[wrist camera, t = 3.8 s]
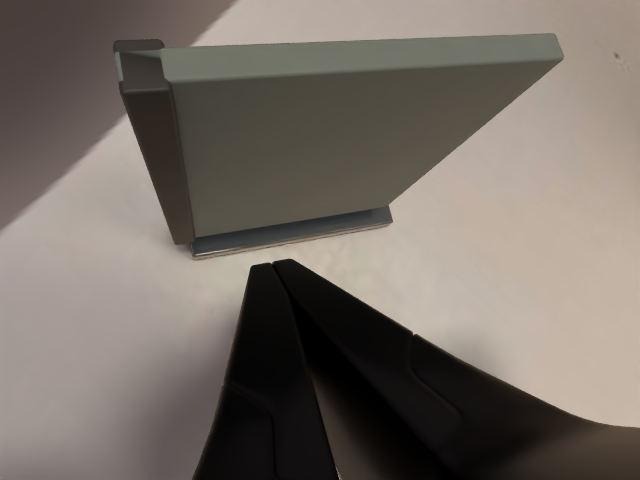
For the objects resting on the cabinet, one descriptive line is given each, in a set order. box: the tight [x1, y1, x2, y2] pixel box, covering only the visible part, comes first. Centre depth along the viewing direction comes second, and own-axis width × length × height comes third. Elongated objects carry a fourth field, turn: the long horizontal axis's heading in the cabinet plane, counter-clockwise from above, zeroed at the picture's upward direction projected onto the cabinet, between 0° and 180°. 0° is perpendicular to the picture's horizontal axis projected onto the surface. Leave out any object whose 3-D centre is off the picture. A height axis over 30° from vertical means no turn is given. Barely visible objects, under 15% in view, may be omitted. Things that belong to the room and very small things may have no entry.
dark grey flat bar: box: [191, 205, 393, 260], centre depth 17 cm, size 2×8×1 cm, turn 104°
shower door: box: [113, 33, 564, 245], centre depth 11 cm, size 1×8×9 cm, turn 104°
